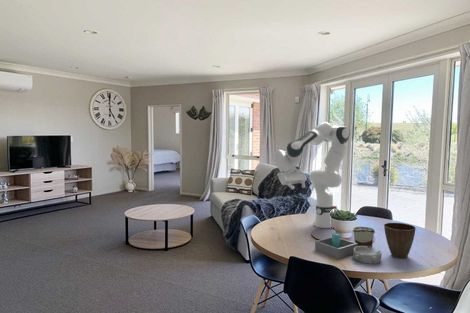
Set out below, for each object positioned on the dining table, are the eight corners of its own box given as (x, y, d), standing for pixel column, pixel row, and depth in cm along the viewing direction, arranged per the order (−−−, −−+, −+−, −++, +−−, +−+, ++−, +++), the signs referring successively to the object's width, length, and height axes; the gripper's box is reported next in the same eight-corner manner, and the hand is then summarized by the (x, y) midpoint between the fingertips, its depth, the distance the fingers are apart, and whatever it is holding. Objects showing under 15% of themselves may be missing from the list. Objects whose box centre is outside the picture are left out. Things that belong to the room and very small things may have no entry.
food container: (371, 243, 195) (371, 226, 195) (374, 246, 189) (375, 229, 188) (350, 242, 196) (350, 226, 196) (352, 246, 190) (352, 229, 190)
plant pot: (378, 255, 175) (379, 226, 174) (389, 248, 185) (390, 220, 184) (409, 263, 164) (410, 232, 163) (418, 255, 175) (419, 226, 174)
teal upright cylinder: (335, 248, 186) (335, 233, 185) (341, 250, 182) (342, 234, 181) (330, 250, 183) (330, 234, 183) (336, 252, 180) (336, 236, 179)
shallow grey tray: (333, 244, 194) (333, 236, 193) (357, 252, 181) (357, 243, 180) (315, 250, 185) (315, 241, 184) (338, 258, 172) (338, 249, 171)
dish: (358, 252, 180) (358, 243, 180) (384, 258, 171) (385, 249, 171) (348, 260, 169) (348, 251, 169) (376, 267, 160) (376, 257, 160)
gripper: (278, 169, 205) (289, 186, 197) (301, 167, 216) (312, 183, 209) (273, 175, 209) (284, 192, 201) (296, 173, 220) (307, 189, 213)
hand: (299, 188), depth 205 cm, fingers open, 8 cm apart
